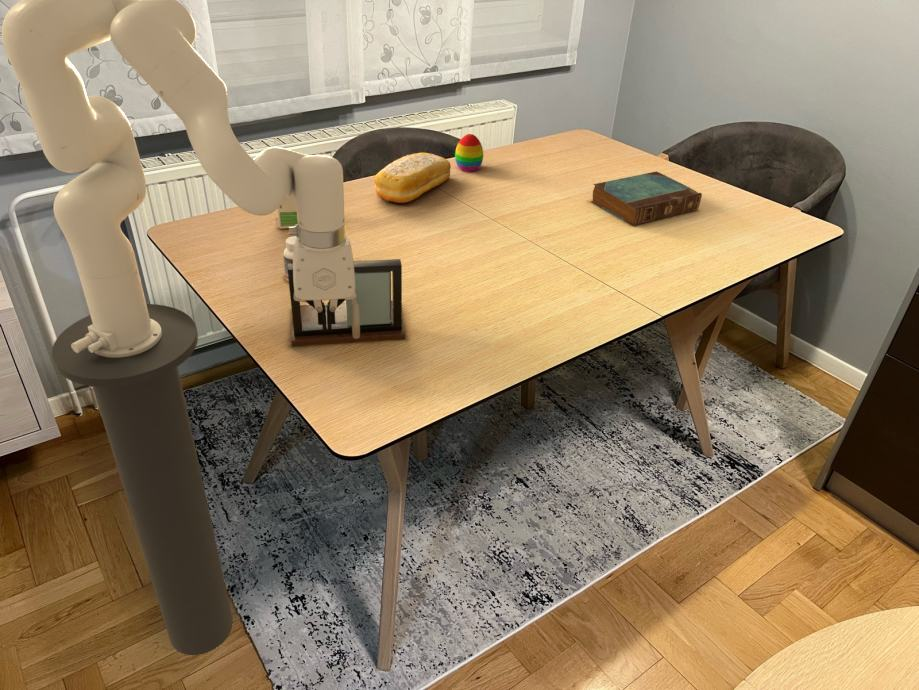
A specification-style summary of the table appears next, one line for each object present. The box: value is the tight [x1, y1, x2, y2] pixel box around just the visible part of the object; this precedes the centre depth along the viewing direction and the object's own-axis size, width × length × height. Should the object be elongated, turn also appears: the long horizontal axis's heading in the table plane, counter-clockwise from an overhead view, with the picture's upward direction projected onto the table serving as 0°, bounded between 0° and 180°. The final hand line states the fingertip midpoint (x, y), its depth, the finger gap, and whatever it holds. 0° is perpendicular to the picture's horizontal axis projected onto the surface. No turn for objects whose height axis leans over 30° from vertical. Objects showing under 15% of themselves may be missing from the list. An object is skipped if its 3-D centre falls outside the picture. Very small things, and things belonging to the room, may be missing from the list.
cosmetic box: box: [276, 195, 298, 229], centre depth 173 cm, size 8×7×16 cm
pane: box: [345, 271, 390, 339], centre depth 131 cm, size 7×8×11 cm
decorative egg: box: [454, 133, 484, 172], centre depth 210 cm, size 8×8×10 cm
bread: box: [374, 152, 452, 204], centre depth 196 cm, size 13×26×8 cm, turn 154°
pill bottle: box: [283, 235, 297, 282], centre depth 153 cm, size 5×5×9 cm
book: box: [590, 171, 703, 227], centre depth 194 cm, size 23×18×5 cm
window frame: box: [288, 258, 406, 347], centre depth 137 cm, size 12×21×15 cm, turn 100°
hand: (327, 326), depth 129 cm, fingers closed
